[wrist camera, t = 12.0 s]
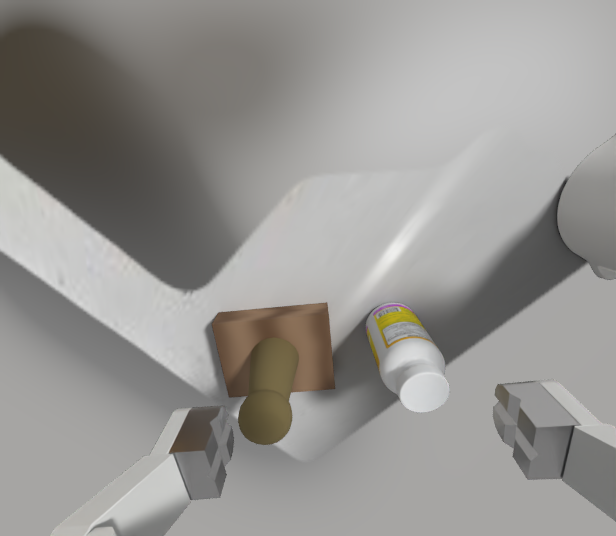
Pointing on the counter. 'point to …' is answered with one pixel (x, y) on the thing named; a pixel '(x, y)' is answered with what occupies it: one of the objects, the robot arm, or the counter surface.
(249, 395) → the cork
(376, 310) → the supplement bottle
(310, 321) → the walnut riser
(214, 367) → the counter surface
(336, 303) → the counter surface
